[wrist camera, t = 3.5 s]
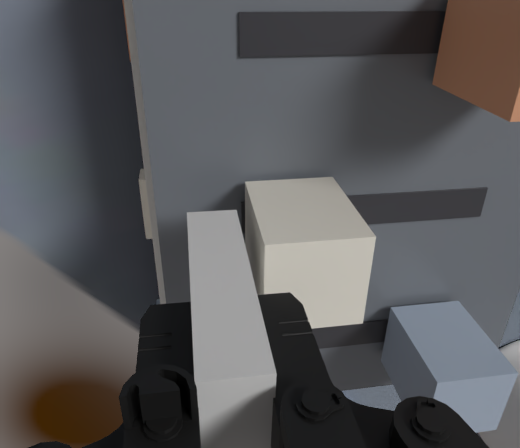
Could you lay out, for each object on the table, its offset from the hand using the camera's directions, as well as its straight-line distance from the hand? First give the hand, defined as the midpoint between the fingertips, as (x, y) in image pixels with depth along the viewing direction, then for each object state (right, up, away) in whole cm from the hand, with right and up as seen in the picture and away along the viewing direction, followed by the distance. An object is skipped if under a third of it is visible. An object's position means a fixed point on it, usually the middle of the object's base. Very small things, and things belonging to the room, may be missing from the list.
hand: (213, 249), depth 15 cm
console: (+5, +4, +7) cm, 9 cm away
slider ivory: (+2, +1, +2) cm, 3 cm away
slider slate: (+8, -4, +5) cm, 11 cm away
